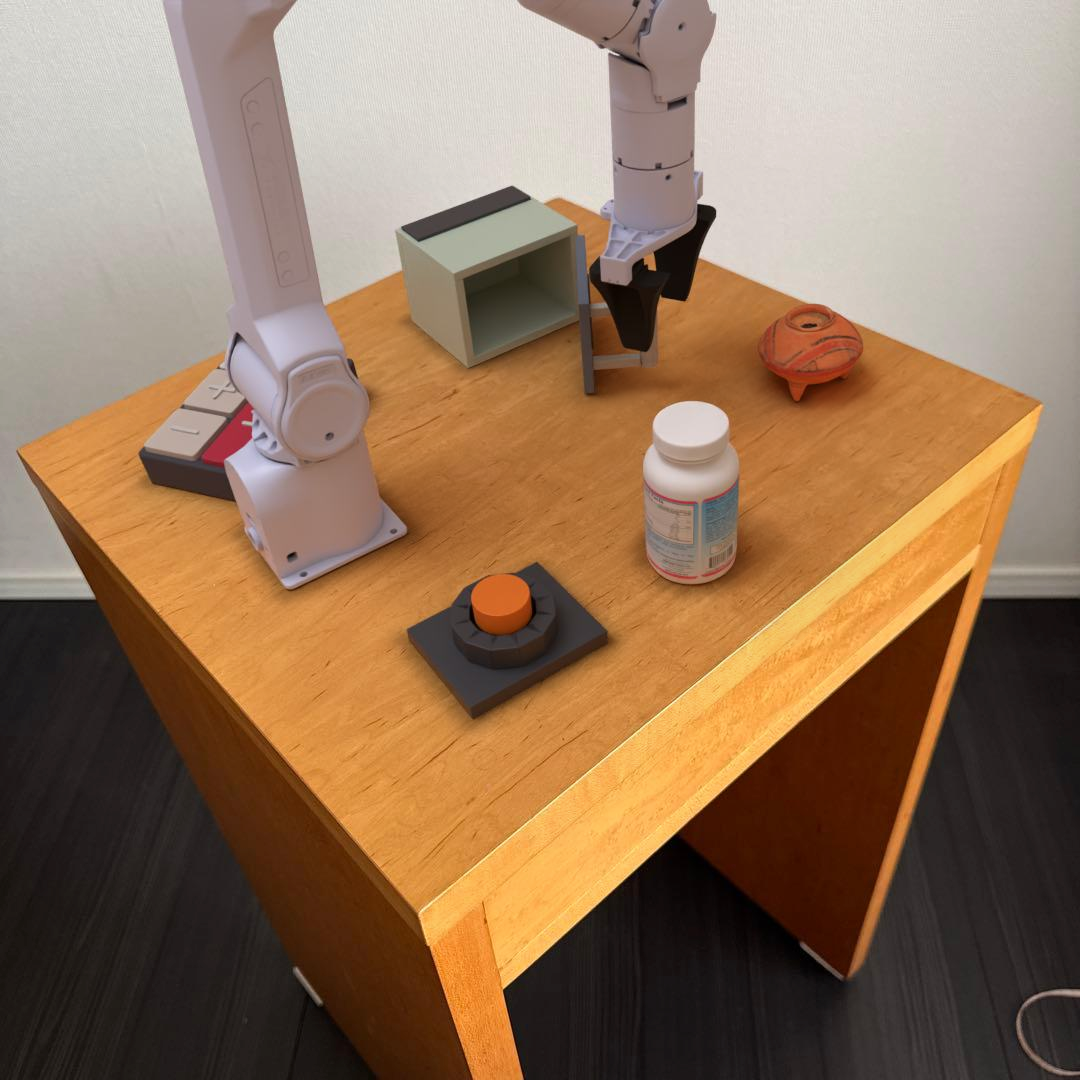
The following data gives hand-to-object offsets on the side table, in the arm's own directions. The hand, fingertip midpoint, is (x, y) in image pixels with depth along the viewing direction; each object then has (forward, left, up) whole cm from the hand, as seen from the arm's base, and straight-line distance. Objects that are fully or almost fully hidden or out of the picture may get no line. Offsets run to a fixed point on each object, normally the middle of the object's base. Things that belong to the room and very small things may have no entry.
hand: (656, 322), depth 87 cm
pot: (+9, -8, -6) cm, 13 cm away
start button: (-25, -17, -3) cm, 30 cm away
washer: (-5, +17, -6) cm, 18 cm away
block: (-25, -17, -6) cm, 31 cm away
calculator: (-29, +14, -6) cm, 33 cm away
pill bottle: (-11, -18, -6) cm, 22 cm away
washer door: (0, +5, -5) cm, 7 cm away
